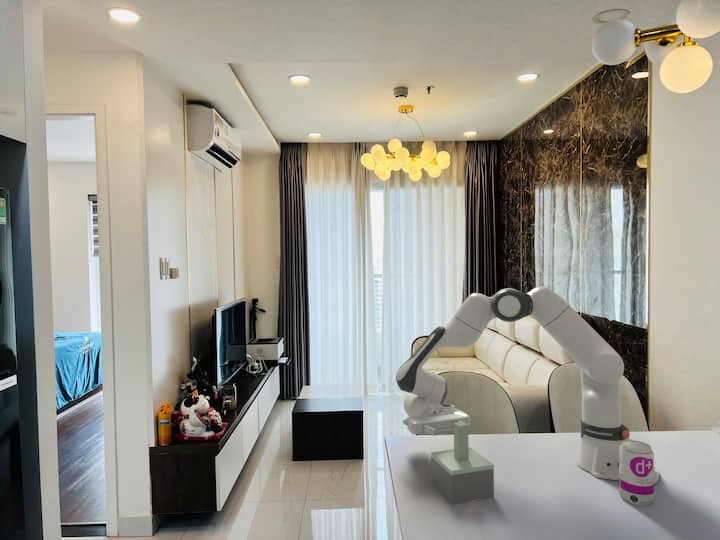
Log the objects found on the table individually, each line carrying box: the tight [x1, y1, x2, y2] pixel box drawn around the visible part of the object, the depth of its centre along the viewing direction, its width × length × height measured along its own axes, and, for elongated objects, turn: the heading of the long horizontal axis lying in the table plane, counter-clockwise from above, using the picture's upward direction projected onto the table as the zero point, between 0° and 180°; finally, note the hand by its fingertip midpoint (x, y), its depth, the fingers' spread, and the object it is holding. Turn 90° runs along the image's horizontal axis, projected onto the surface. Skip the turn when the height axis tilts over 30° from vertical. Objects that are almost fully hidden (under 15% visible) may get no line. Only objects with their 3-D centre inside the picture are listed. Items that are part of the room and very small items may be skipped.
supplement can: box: [618, 439, 655, 507], centre depth 129 cm, size 8×8×15 cm
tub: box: [430, 456, 495, 505], centre depth 135 cm, size 13×13×8 cm
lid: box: [430, 422, 495, 475], centre depth 135 cm, size 13×13×13 cm
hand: (449, 430), depth 143 cm, fingers open, 8 cm apart
